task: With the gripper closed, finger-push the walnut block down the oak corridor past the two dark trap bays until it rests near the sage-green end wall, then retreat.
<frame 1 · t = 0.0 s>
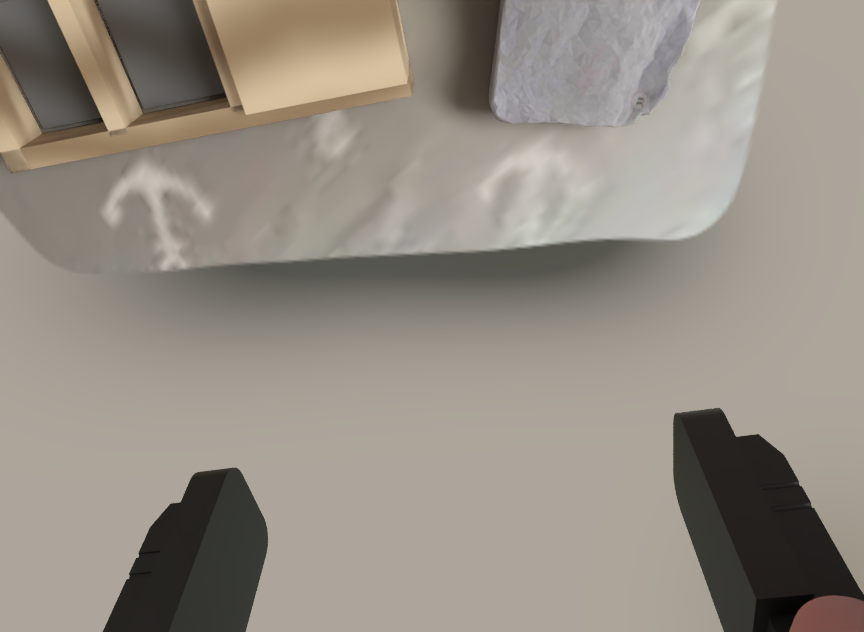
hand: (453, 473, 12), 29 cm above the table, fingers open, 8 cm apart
stone block: (591, 1, 35), on the table
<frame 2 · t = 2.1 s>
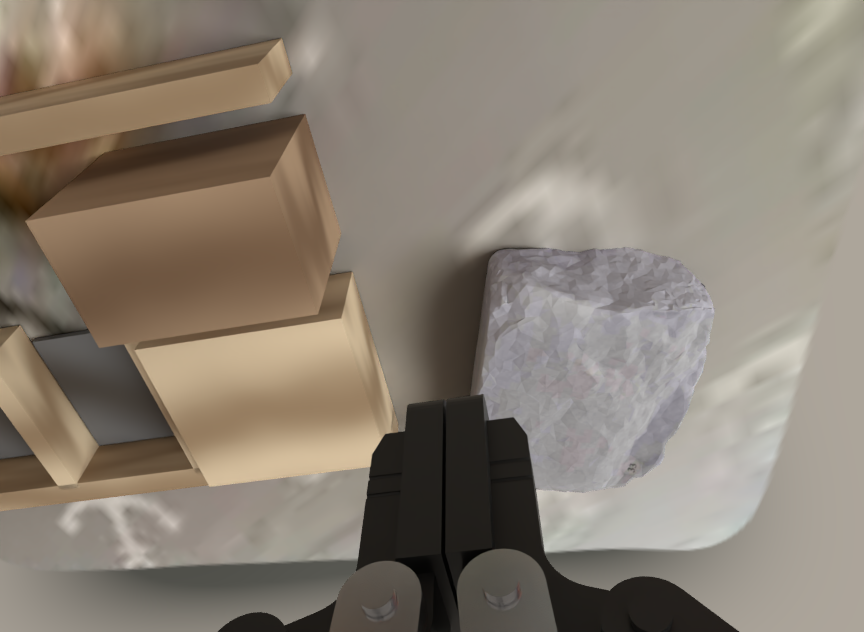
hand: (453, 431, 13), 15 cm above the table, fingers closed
walnut block: (227, 193, 27), on the table
stone block: (577, 353, 31), on the table
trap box: (98, 306, 30), on the table
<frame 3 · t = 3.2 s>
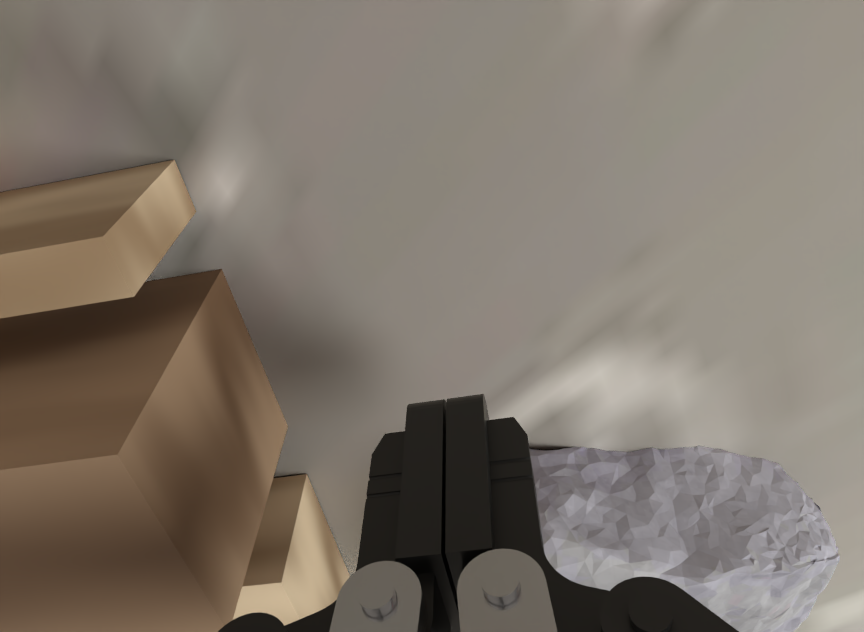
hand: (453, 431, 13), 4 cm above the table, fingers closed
walnut block: (112, 373, 18), on the table
stone block: (618, 564, 22), on the table
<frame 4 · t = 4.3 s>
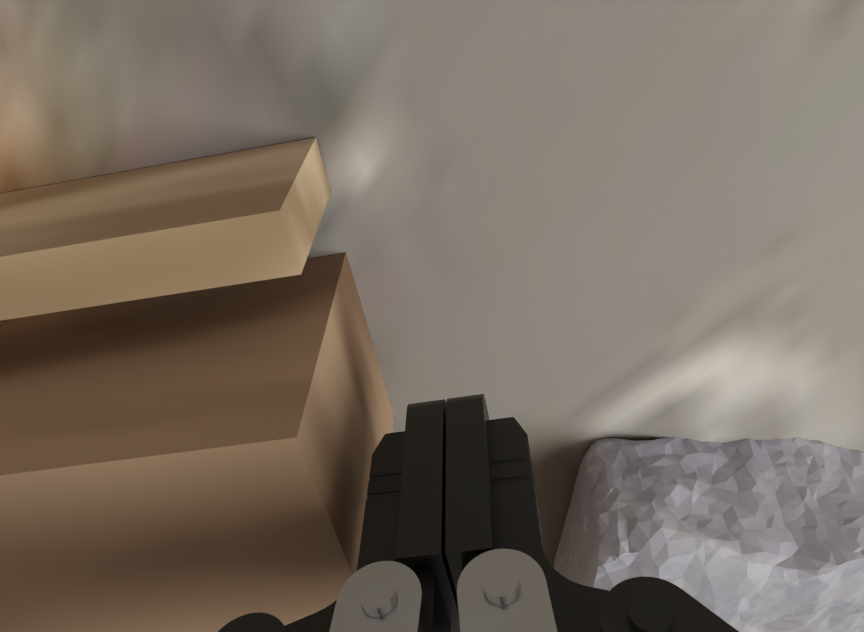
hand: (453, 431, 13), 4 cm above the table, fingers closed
walnut block: (218, 361, 17), on the table, touching gripper
stone block: (696, 559, 22), on the table
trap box: (28, 502, 20), on the table
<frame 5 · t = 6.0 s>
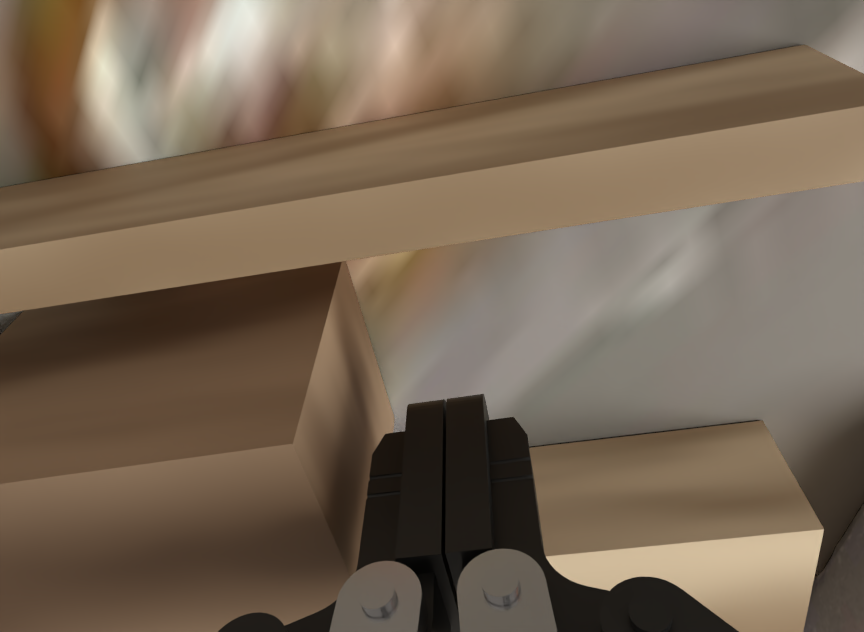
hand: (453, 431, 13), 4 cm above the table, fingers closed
walnut block: (218, 366, 17), on the table, touching gripper
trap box: (335, 462, 19), on the table
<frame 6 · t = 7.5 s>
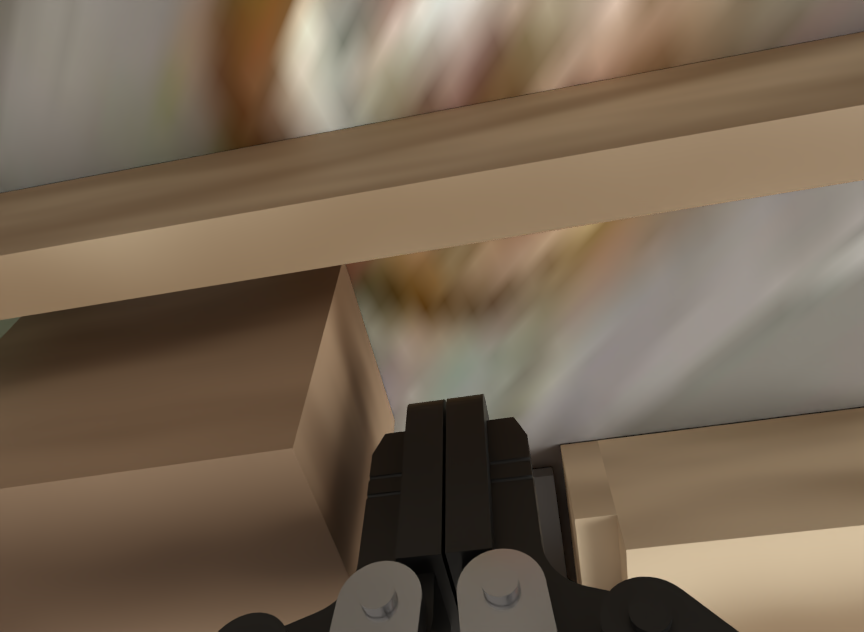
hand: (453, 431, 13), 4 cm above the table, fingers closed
walnut block: (218, 369, 17), on the table, touching gripper, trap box
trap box: (485, 446, 18), on the table
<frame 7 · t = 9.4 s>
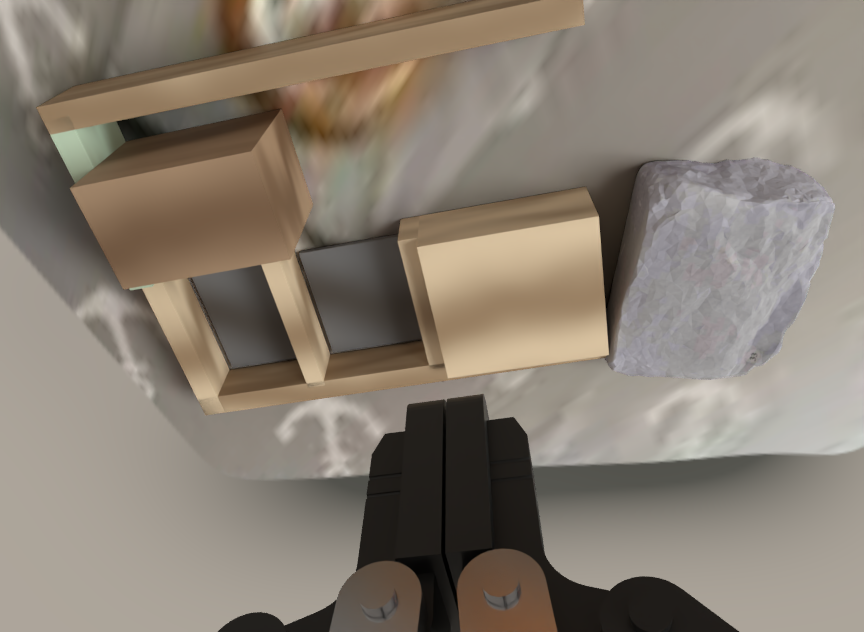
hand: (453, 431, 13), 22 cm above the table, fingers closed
walnut block: (222, 173, 34), on the table
stone block: (702, 259, 37), on the table
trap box: (361, 220, 35), on the table
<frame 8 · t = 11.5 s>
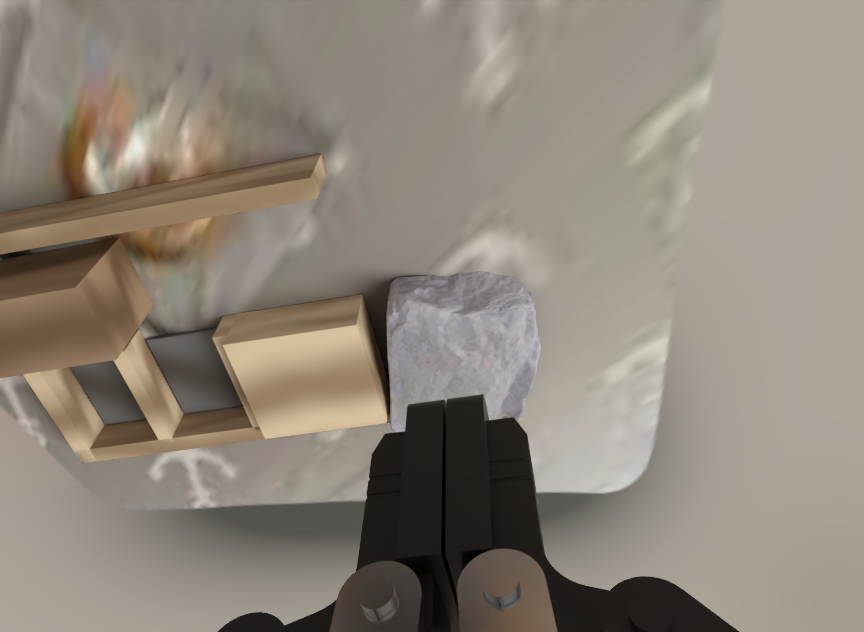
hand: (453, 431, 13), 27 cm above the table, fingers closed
walnut block: (80, 281, 44), on the table
stone block: (463, 343, 46), on the table
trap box: (193, 316, 45), on the table
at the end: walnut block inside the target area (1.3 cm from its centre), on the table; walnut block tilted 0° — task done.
